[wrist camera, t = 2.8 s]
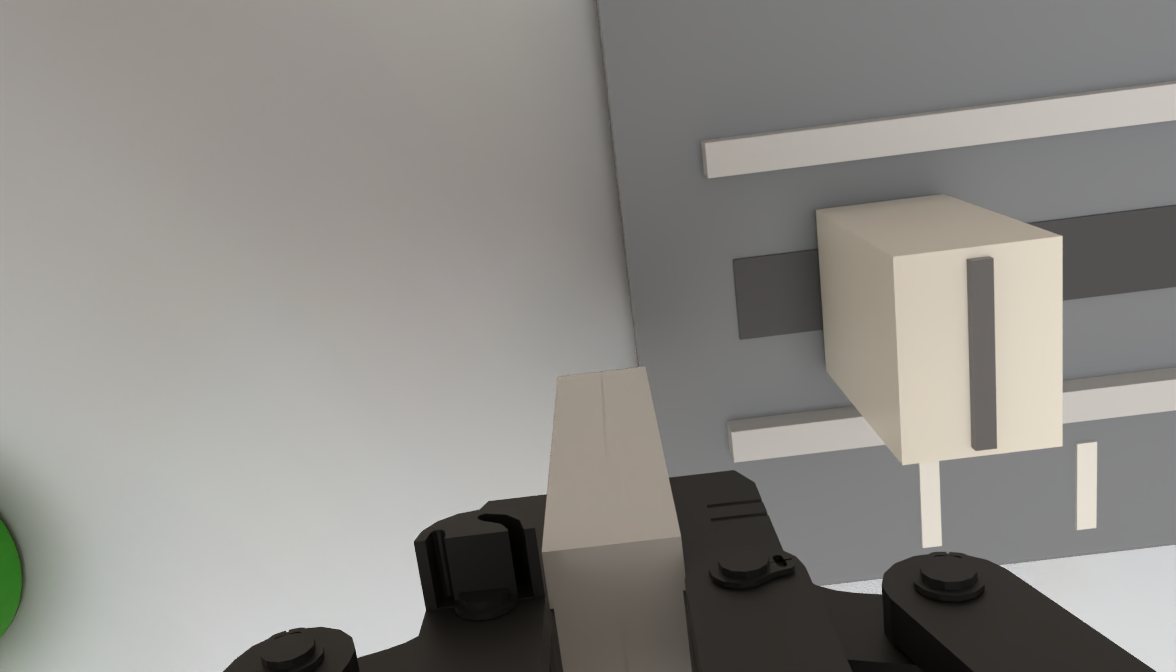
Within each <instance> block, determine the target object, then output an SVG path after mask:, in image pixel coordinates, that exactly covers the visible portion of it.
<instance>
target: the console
mask: <svg viewBox="0 0 1176 672" xmlns="http://www.w3.org/2000/svg"><path fill="white" fill-rule="evenodd" d="M596 3H597V12H598V21H599V29H600V38H601V47H602V55H603V64H604V73H605V81H606V90H607V99H608V107H609V116H610V125H611V133H612V142H613V151H614V159H615V168H616V177H617V185H618V194H619V203H620V211H621V220H622V229H623V237H624V246H625V255H626V263H627V272H628V281H629V289H630V298H631V307H632V315H633V324H634V333H635V341H636V350H637V359H638V367H643V366H645V367H646V372H647V377H648V382H649V386H650V391H651V396H652V401H653V405H654V410H655V415H656V420H657V424H658V429H659V434H660V439H661V443H662V448H663V453H664V458H665V462H666V467H667V472H668V477H678V476H687V475H695V474H704V473H712V472H721V471H729V470H735V471H737V472H738V473H740V474H742V475H743V476H745V477H747V478H748V479H750V480H752V481H753V482H755V484H756V487H757V489H758V491H759V494H760V496H761V498H762V502H763V503H764V506H765V508H766V510H767V514H768V515H769V517H770V520H771V522H772V525H773V527H774V529H775V532H776V534H777V536H778V539H779V541H780V543H781V546H782V548H783V551H785V552H788V553H790V554H792V555H794V556H796V557H797V558H798V559H799V560H800V561H801V562H802V563H803V564H804V566H805V567H806V569H807V571H808V574H809V576H810V578H811V580H812V582H813V584H815V585H817V586H822V585H831V584H839V583H848V582H857V581H865V580H874V579H883V574H884V573H885V572H886V571H887V570H888V569H889V568H890V567H891V566H892V565H893V564H895V563H897V562H899V561H902V560H905V559H907V558H910V557H912V556H918V555H925V554H930V553H932V552H946V553H949V552H958V553H964V554H966V555H969V556H973V557H977V558H982V559H986V560H989V561H991V562H993V563H995V564H997V565H1004V564H1012V563H1021V562H1029V561H1038V560H1047V559H1055V558H1064V557H1073V556H1081V555H1090V554H1099V553H1107V552H1116V551H1125V550H1133V549H1142V548H1150V547H1159V546H1168V545H1176V0H596ZM938 194H945V195H948V196H951V197H954V198H957V199H959V200H962V201H965V202H968V203H971V204H974V205H976V206H979V207H982V208H985V209H988V210H990V211H993V212H996V213H999V214H1002V215H1005V216H1007V217H1010V218H1013V219H1016V220H1019V221H1022V222H1024V223H1027V224H1030V225H1033V226H1036V227H1038V228H1041V229H1044V230H1047V231H1050V232H1053V233H1055V234H1058V235H1061V236H1063V446H1061V447H1053V448H1044V449H1036V450H1027V451H1019V452H1011V453H1002V454H994V455H985V456H977V457H968V458H960V459H951V460H943V461H934V462H926V463H917V464H909V465H902V464H901V463H900V462H899V461H898V459H897V458H896V457H895V456H894V454H893V453H892V452H891V451H890V449H889V448H888V447H887V446H886V445H885V443H884V442H883V441H882V440H881V438H880V437H879V436H878V435H877V433H876V432H875V431H874V430H873V428H872V427H871V426H870V425H869V424H868V422H867V421H866V420H865V419H864V417H863V416H862V415H861V414H860V412H859V411H858V410H857V409H856V407H855V406H854V405H853V404H852V403H851V401H850V400H849V399H848V398H847V396H846V395H845V394H844V393H843V391H842V390H841V389H840V388H839V386H838V385H837V384H836V383H835V382H834V380H833V379H832V378H831V377H830V375H829V374H828V373H827V372H826V362H825V346H824V331H823V315H822V300H821V284H820V269H819V253H818V238H817V222H816V210H817V209H825V208H833V207H841V206H849V205H857V204H865V203H873V202H882V201H890V200H898V199H906V198H914V197H922V196H930V195H938Z"/></svg>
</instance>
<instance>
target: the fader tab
mask: <svg viewBox="0 0 1176 672" xmlns="http://www.w3.org/2000/svg"><path fill="white" fill-rule="evenodd" d="M816 222H817V238H818V253H819V269H820V284H821V300H822V315H823V331H824V346H825V362H826V372H827V373H828V374H829V375H830V377H831V378H832V379H833V380H834V382H835V383H836V384H837V385H838V386H839V388H840V389H841V390H842V391H843V393H844V394H845V395H846V396H847V398H848V399H849V400H850V401H851V403H852V404H853V405H854V406H855V407H856V409H857V410H858V411H859V412H860V414H861V415H862V416H863V417H864V419H865V420H866V421H867V422H868V424H869V425H870V426H871V427H872V428H873V430H874V431H875V432H876V433H877V435H878V436H879V437H880V438H881V440H882V441H883V442H884V443H885V445H886V446H887V447H888V448H889V449H890V451H891V452H892V453H893V454H894V456H895V457H896V458H897V459H898V461H899V462H900V463H901V464H902V465H909V464H917V463H926V462H934V461H943V460H951V459H960V458H968V457H977V456H985V455H994V454H1002V453H1011V452H1019V451H1027V450H1036V449H1044V448H1053V447H1061V446H1063V236H1061V235H1058V234H1055V233H1053V232H1050V231H1047V230H1044V229H1041V228H1038V227H1036V226H1033V225H1030V224H1027V223H1024V222H1022V221H1019V220H1016V219H1013V218H1010V217H1007V216H1005V215H1002V214H999V213H996V212H993V211H990V210H988V209H985V208H982V207H979V206H976V205H974V204H971V203H968V202H965V201H962V200H959V199H957V198H954V197H951V196H948V195H945V194H938V195H930V196H922V197H914V198H906V199H898V200H890V201H882V202H873V203H865V204H857V205H849V206H841V207H833V208H825V209H817V210H816Z"/></svg>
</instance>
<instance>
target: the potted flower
mask: <svg viewBox="0 0 1176 672" xmlns="http://www.w3.org/2000/svg"><path fill="white" fill-rule="evenodd" d="M21 588H22V575H21V563H20V559H19V556H18V552H17V549H16V546H15V543H14V541H13V539H12V537H11V535H10V533H9V531H8V530H7V528H6V526H5V524H4V523H3V522H2V520H1V519H0V638H1V637H2V635H3V634H4V632H5V631H6V629H7V628H8V627H9V625H10V624H11V622H12V621H13V618H14V616H15V613H16V611H17V608H18V606H19V602H20V595H21Z"/></svg>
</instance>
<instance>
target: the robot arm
mask: <svg viewBox="0 0 1176 672" xmlns="http://www.w3.org/2000/svg"><path fill="white" fill-rule="evenodd" d="M414 546H415V551H416V557H417V563H418V568H419V574H420V579H421V585H422V590H423V596H424V601H425V607H426V613H425V616H424V619H423V623H422V626H421V630H420V633H419V636H418V637H416V638H414V639H412V640H410V641H408V642H406V643H403V644H401V645H398V646H395V647H392V648H389V649H387V650H383V651H380V652H376V653H373V654H370V655H366V656H363V657H359V658H357V655H356V650H355V646H354V643H353V639H352V637H351V636H349V635H347V634H346V633H344V632H343V631H341V630H338V629H331V628H325V627H316V628H296V629H291V630H289V632H286V631H284V632H281V633H277V634H275V635H273V636H271V637H270V638H269V639H267V640H265V641H263V642H261V643H259V644H256V645H254V646H252V647H251V648H250V649H248V650H247V651H246V652H244V653H243V654H242V655H241V656H239V657H238V658H237V659H235V660H234V661H233V662H232V663H231V664H230V665H229V666H228V667H227V668H226V669H225V670H224V671H223V672H1156V671H1155V670H1153V669H1152V668H1150V667H1149V666H1147V665H1146V664H1144V663H1143V662H1141V661H1140V660H1139V659H1137V658H1136V657H1134V656H1133V655H1131V654H1130V653H1128V652H1127V651H1125V650H1124V649H1122V648H1121V647H1120V646H1118V645H1117V644H1115V643H1114V642H1112V641H1111V640H1109V639H1108V638H1106V637H1105V636H1103V635H1102V634H1101V633H1099V632H1098V631H1096V630H1095V629H1093V628H1092V627H1090V626H1089V625H1087V624H1086V623H1084V622H1083V621H1082V620H1080V619H1079V618H1077V617H1076V616H1074V615H1073V614H1071V613H1070V612H1068V611H1067V610H1065V609H1064V608H1063V607H1061V606H1060V605H1058V604H1057V603H1055V602H1054V601H1052V600H1051V599H1049V598H1048V597H1046V596H1045V595H1044V594H1042V593H1041V592H1039V591H1038V590H1036V589H1035V588H1033V587H1032V586H1030V585H1029V584H1027V583H1026V582H1025V581H1023V580H1022V579H1020V578H1019V577H1017V576H1016V575H1014V574H1013V573H1011V572H1010V571H1008V570H1007V569H1005V568H1003V567H1001V566H999V565H997V564H995V563H993V562H991V561H989V560H986V559H982V558H977V557H973V556H969V555H966V554H964V553H958V552H949V553H946V552H932V553H930V554H925V555H918V556H912V557H910V558H907V559H905V560H902V561H899V562H897V563H895V564H893V565H892V566H891V567H890V568H889V569H888V570H887V571H886V572H885V573H884V574H883V581H882V595H880V594H863V593H851V592H843V591H836V590H832V589H828V588H824V587H820V586H817V585H815V584H813V582H812V580H811V578H810V576H809V574H808V571H807V569H806V567H805V566H804V564H803V563H802V562H801V561H800V560H799V559H798V558H797V557H796V556H794V555H792V554H790V553H788V552H785V551H783V548H782V546H781V543H780V541H779V539H778V536H777V534H776V532H775V529H774V527H773V525H772V522H771V520H770V517H769V515H768V514H767V510H766V508H765V506H764V503H763V502H762V498H761V496H760V494H759V491H758V489H757V487H756V484H755V482H753V481H752V480H750V479H748V478H747V477H745V476H743V475H742V474H740V473H738V472H737V471H735V470H729V471H721V472H712V473H704V474H695V475H687V476H678V477H668V472H667V467H666V462H665V458H664V453H663V448H662V443H661V439H660V434H659V429H658V424H657V420H656V415H655V410H654V405H653V401H652V396H651V391H650V386H649V382H648V377H647V372H646V367H645V366H643V367H635V368H626V369H618V370H610V371H601V372H593V373H585V374H576V375H568V376H559V377H558V379H557V390H556V401H555V412H554V423H553V434H552V445H551V455H550V466H549V477H548V488H547V495H538V496H530V497H521V498H512V499H504V500H495V501H488V502H487V503H486V504H485V505H484V506H483V507H482V508H481V509H480V510H476V511H471V512H466V513H460V514H457V515H454V516H451V517H448V518H446V519H443V520H440V521H438V522H436V523H434V524H433V525H431V526H430V527H428V528H426V529H425V530H423V531H422V532H421V533H420V535H419V536H418V537H417V538H416V540H415V541H414Z"/></svg>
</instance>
